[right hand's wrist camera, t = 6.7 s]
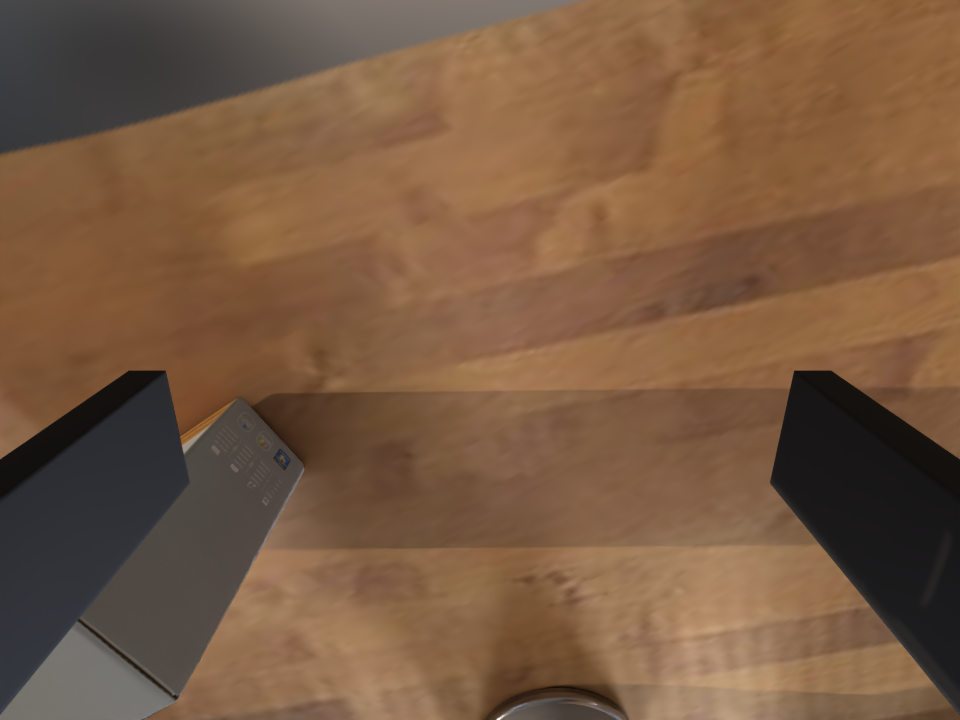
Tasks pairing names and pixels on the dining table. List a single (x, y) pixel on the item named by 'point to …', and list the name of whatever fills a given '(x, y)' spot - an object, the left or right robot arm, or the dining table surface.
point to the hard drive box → (171, 581)
